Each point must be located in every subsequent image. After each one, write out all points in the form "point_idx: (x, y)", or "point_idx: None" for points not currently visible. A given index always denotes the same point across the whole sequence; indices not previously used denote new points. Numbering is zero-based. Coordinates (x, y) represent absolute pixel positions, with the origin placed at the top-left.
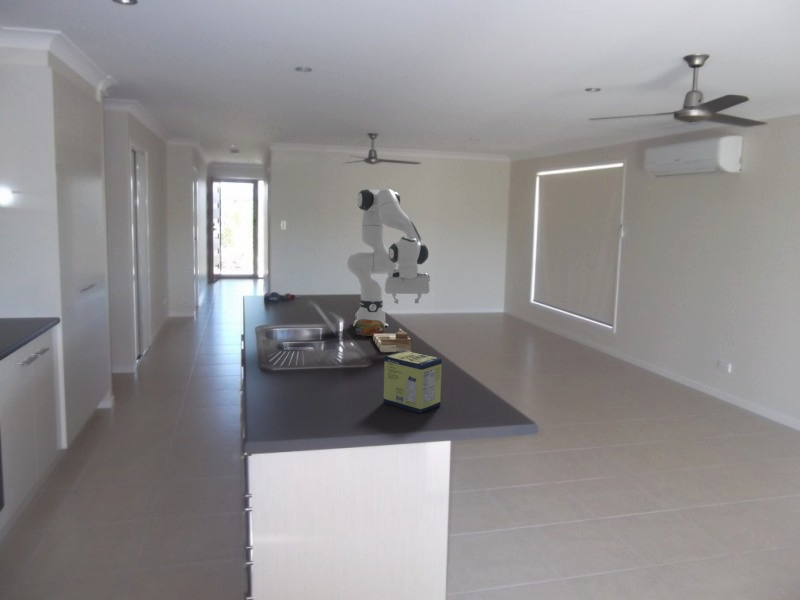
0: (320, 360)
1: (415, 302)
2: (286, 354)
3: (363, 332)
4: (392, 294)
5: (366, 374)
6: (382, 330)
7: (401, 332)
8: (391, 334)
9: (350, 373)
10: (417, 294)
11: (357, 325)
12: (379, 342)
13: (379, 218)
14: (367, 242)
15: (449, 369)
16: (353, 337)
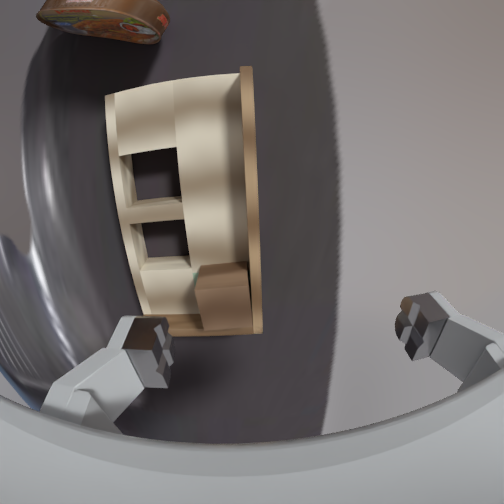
0: (43, 356)
1: (398, 333)
2: None
3: (83, 28)
4: (56, 406)
5: (150, 431)
6: (155, 33)
7: (224, 300)
8: (195, 96)
9: (123, 423)
10: (490, 355)
11: (49, 18)
12: (133, 279)
13: None
14: None
15: (310, 419)
16: (54, 68)
